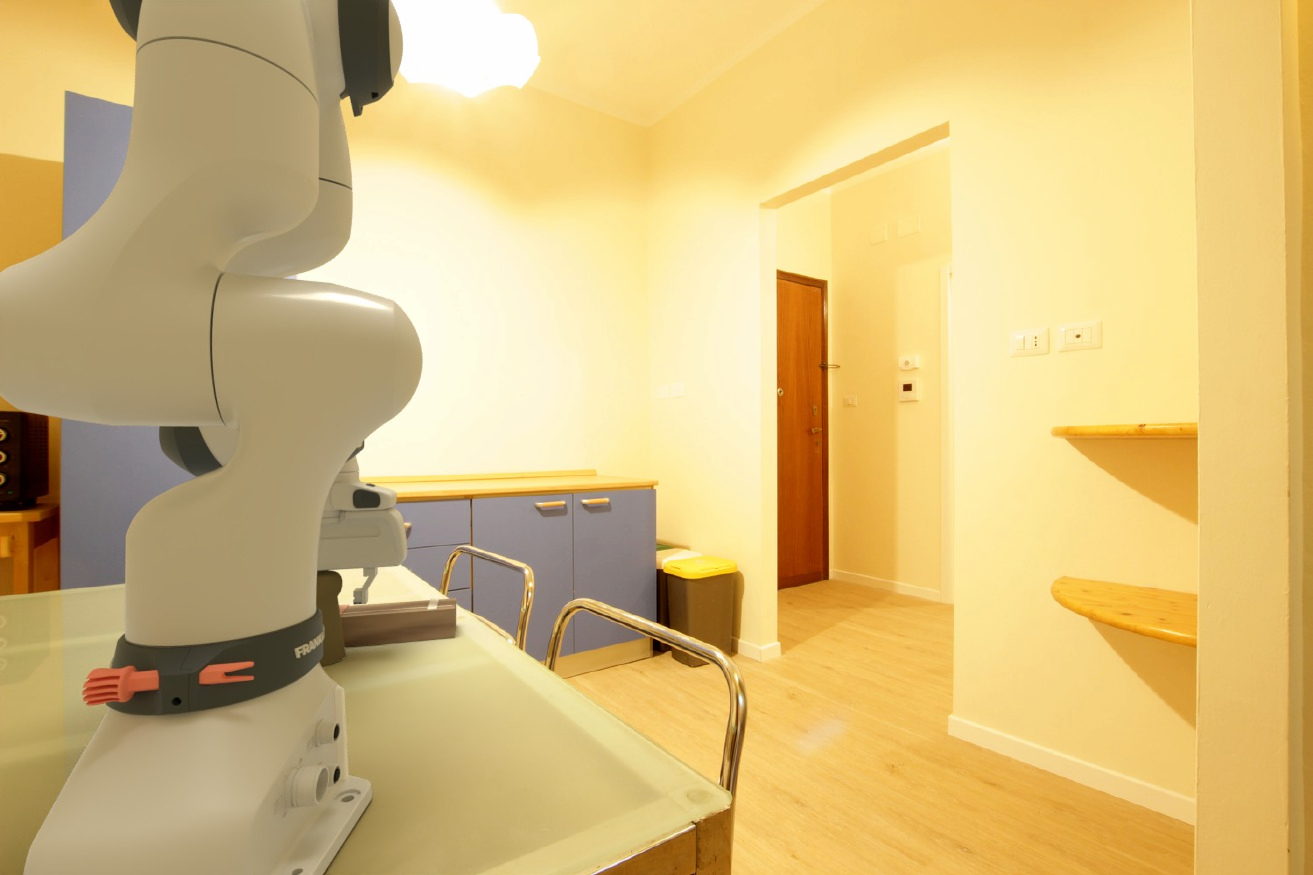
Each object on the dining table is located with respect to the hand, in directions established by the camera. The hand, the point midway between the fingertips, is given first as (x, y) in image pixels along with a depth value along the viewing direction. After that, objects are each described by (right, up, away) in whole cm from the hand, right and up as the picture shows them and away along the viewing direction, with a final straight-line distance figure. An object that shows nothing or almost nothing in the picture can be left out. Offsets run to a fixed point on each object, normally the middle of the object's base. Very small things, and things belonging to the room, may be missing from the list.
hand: (319, 606), depth 75 cm
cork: (0, -7, 0) cm, 7 cm away
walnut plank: (+4, -7, +9) cm, 12 cm away
